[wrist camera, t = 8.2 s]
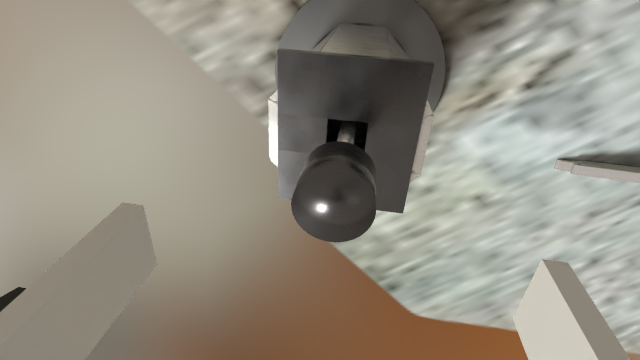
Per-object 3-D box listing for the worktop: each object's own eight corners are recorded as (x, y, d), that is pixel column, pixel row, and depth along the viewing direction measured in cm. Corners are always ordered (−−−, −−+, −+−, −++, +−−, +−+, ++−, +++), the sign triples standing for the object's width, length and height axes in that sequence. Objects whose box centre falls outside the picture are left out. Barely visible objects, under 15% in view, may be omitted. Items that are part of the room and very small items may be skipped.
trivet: (276, -24, 32) (274, -24, 31) (463, -11, 30) (465, -11, 29) (277, 143, 40) (275, 146, 39) (424, 159, 38) (425, 162, 37)
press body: (308, 18, 32) (264, 47, 20) (419, 27, 31) (448, 63, 19) (303, 149, 39) (268, 233, 26) (395, 159, 38) (405, 251, 25)
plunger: (313, 40, 29) (241, 114, 14) (408, 47, 28) (445, 135, 13) (309, 128, 33) (249, 263, 17) (393, 137, 32) (407, 285, 17)
